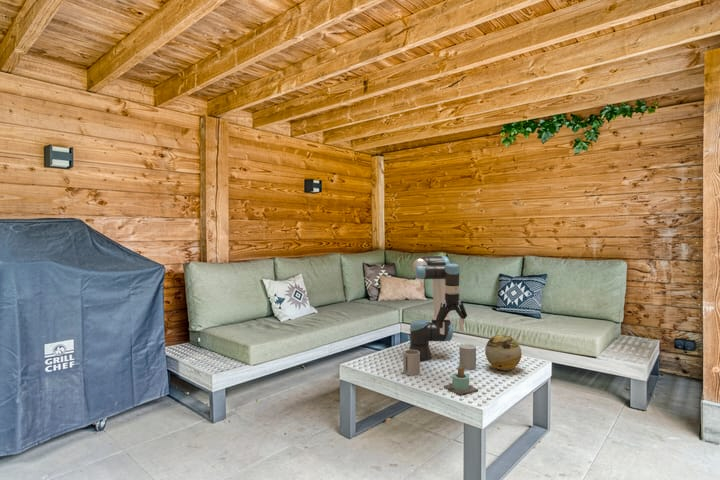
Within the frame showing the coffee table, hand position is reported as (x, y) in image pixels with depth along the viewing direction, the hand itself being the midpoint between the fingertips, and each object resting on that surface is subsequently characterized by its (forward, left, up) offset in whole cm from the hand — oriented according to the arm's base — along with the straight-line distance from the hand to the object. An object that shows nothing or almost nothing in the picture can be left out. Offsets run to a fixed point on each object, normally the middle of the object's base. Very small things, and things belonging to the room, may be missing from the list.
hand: (451, 332), depth 223 cm
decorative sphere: (+3, +37, -26) cm, 45 cm away
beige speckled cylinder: (-10, +22, -26) cm, 35 cm away
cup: (-19, -12, -26) cm, 35 cm away
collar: (+13, -5, -25) cm, 29 cm away
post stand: (+13, -5, -26) cm, 29 cm away
